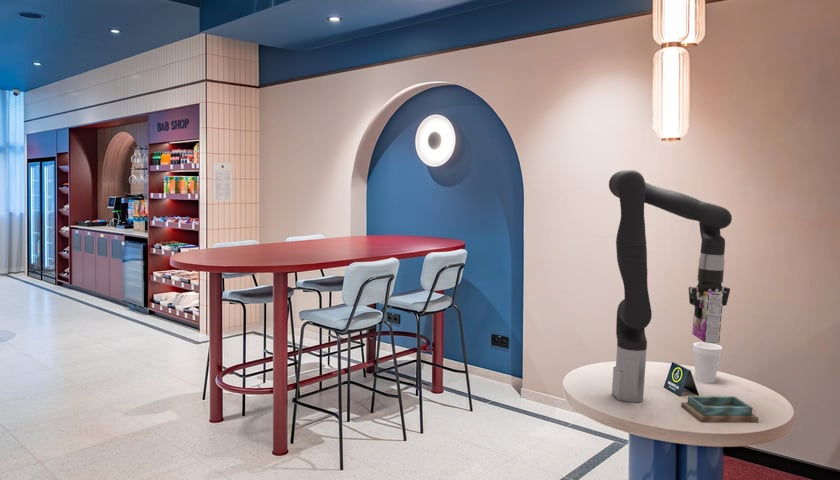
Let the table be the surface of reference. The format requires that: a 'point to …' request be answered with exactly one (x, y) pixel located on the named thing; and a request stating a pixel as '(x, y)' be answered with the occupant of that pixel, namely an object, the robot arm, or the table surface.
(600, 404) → the table surface
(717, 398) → the display base
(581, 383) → the table surface
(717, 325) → the candy bar box
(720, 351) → the foam cup
